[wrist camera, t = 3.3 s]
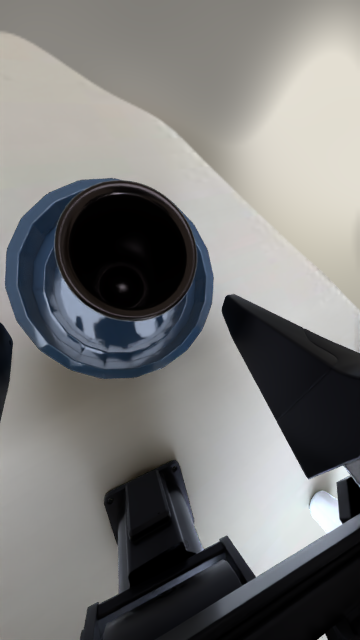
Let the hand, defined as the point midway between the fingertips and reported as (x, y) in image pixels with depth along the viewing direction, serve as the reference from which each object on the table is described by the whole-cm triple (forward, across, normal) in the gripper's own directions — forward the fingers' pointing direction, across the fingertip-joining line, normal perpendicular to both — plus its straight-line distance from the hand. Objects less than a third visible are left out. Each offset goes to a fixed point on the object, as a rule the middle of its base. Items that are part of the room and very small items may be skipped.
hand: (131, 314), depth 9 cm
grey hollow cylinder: (+8, 0, +4) cm, 9 cm away
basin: (+8, 0, +4) cm, 9 cm away
